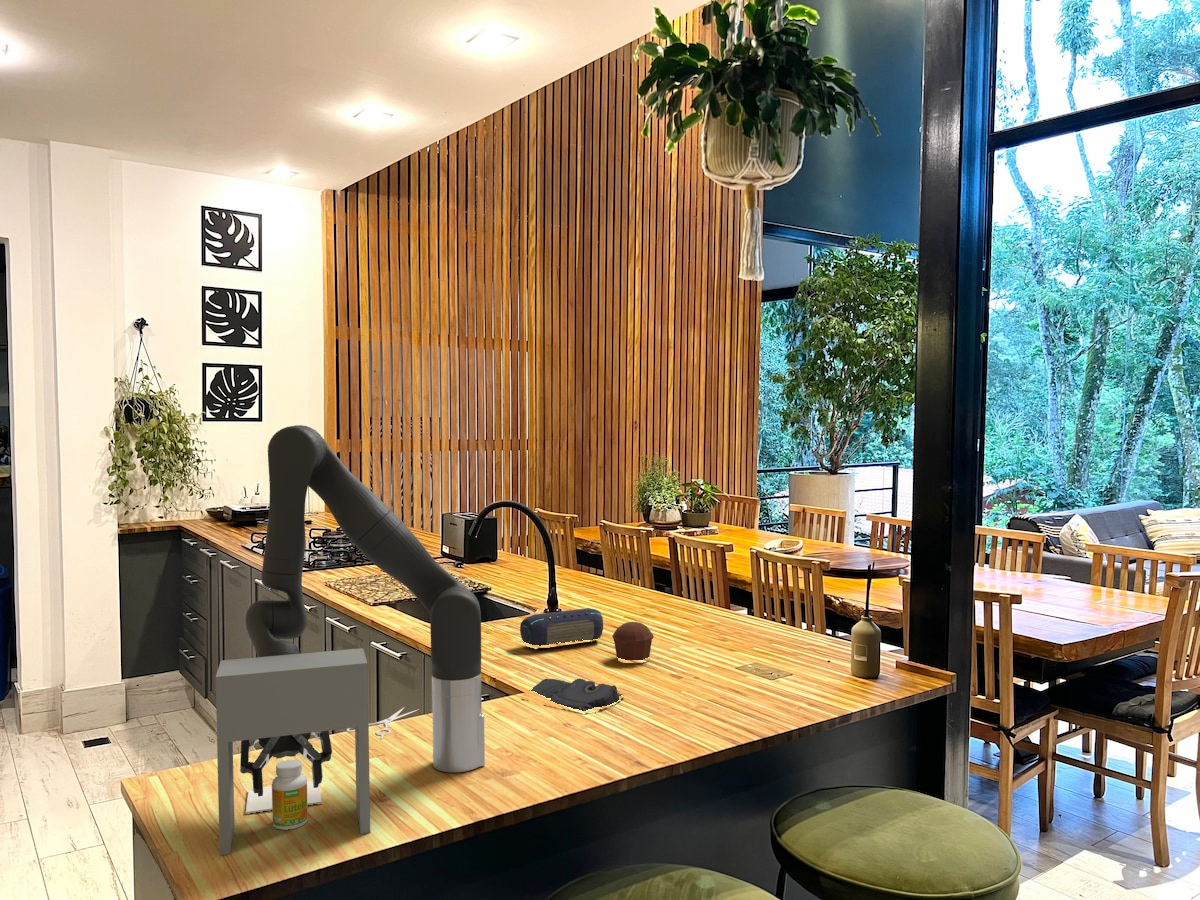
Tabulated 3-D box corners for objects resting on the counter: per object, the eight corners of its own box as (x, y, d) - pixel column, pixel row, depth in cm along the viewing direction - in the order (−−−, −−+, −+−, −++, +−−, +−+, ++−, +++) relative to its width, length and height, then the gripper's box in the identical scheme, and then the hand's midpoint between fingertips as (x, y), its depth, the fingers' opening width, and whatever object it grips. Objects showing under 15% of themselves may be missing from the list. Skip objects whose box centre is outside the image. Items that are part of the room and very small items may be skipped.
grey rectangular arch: (365, 804, 153) (362, 646, 152) (370, 832, 142) (367, 663, 141) (225, 824, 146) (221, 658, 145) (219, 855, 135) (215, 676, 134)
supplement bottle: (283, 834, 142) (282, 773, 142) (266, 824, 146) (265, 764, 145) (314, 822, 146) (313, 763, 146) (296, 813, 150) (295, 755, 150)
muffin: (646, 666, 238) (646, 629, 238) (606, 663, 241) (606, 626, 241) (658, 655, 249) (658, 619, 249) (620, 653, 253) (619, 617, 252)
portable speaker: (531, 655, 252) (530, 619, 251) (517, 647, 260) (516, 613, 260) (609, 643, 264) (609, 609, 263) (593, 637, 272) (593, 604, 272)
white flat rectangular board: (319, 782, 163) (319, 779, 163) (321, 804, 153) (321, 801, 153) (248, 791, 159) (248, 789, 159) (245, 814, 149) (245, 812, 149)
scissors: (339, 732, 188) (393, 703, 207) (339, 736, 188) (393, 706, 207) (382, 738, 185) (433, 708, 203) (382, 742, 185) (433, 711, 203)
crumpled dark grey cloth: (556, 685, 223) (556, 666, 223) (630, 701, 210) (630, 680, 210) (515, 701, 211) (515, 681, 211) (591, 718, 198) (591, 697, 198)
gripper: (238, 693, 150) (241, 787, 140) (326, 683, 156) (336, 772, 146) (237, 716, 155) (241, 807, 145) (323, 705, 161) (332, 792, 151)
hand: (288, 790), depth 145 cm, fingers open, 8 cm apart
